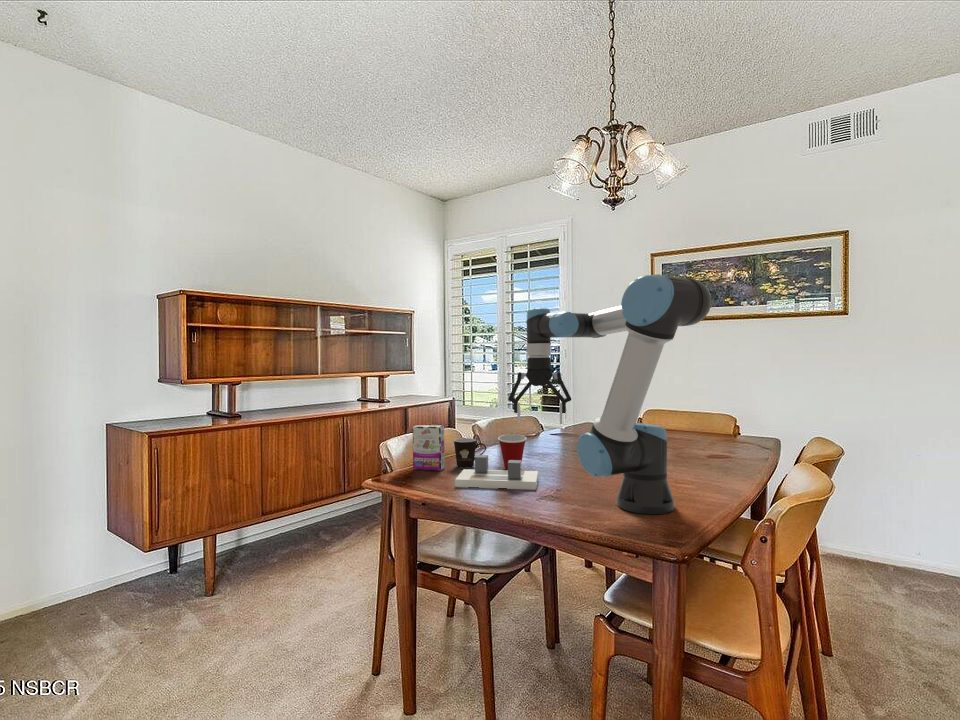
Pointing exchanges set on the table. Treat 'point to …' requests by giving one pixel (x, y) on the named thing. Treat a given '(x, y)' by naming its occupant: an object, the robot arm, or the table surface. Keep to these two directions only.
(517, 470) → the switch tab near
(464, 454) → the coffee mug
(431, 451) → the candy bar box
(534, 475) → the switch panel
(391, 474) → the table surface
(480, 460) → the switch tab far
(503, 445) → the plastic cup
